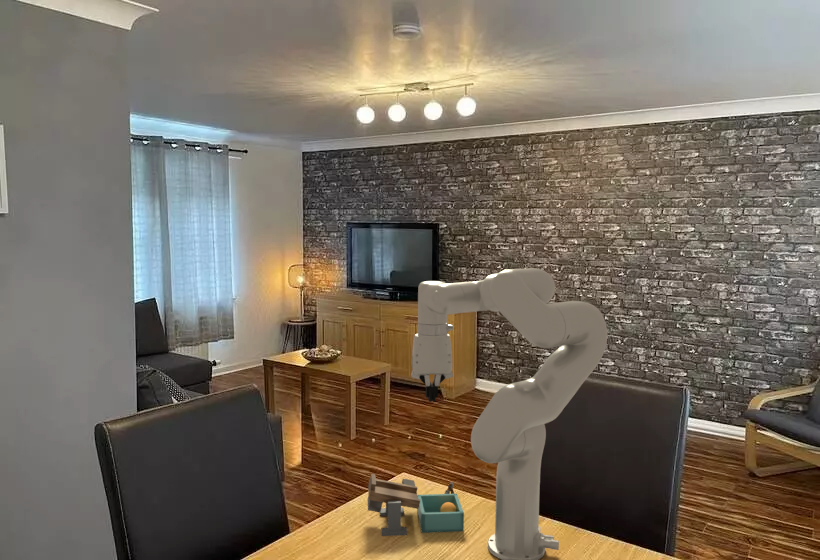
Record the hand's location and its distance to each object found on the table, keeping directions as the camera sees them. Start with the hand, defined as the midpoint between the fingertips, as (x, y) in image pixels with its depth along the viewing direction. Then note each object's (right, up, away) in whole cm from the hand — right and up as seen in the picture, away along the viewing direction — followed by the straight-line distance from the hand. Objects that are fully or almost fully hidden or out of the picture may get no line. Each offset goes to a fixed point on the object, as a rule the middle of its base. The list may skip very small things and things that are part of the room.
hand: (431, 399), depth 161 cm
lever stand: (-10, -28, -9) cm, 31 cm away
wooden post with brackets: (+4, -28, +2) cm, 28 cm away
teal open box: (+2, -28, -8) cm, 29 cm away
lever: (-11, -24, -7) cm, 27 cm away
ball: (+4, -25, -9) cm, 27 cm away
